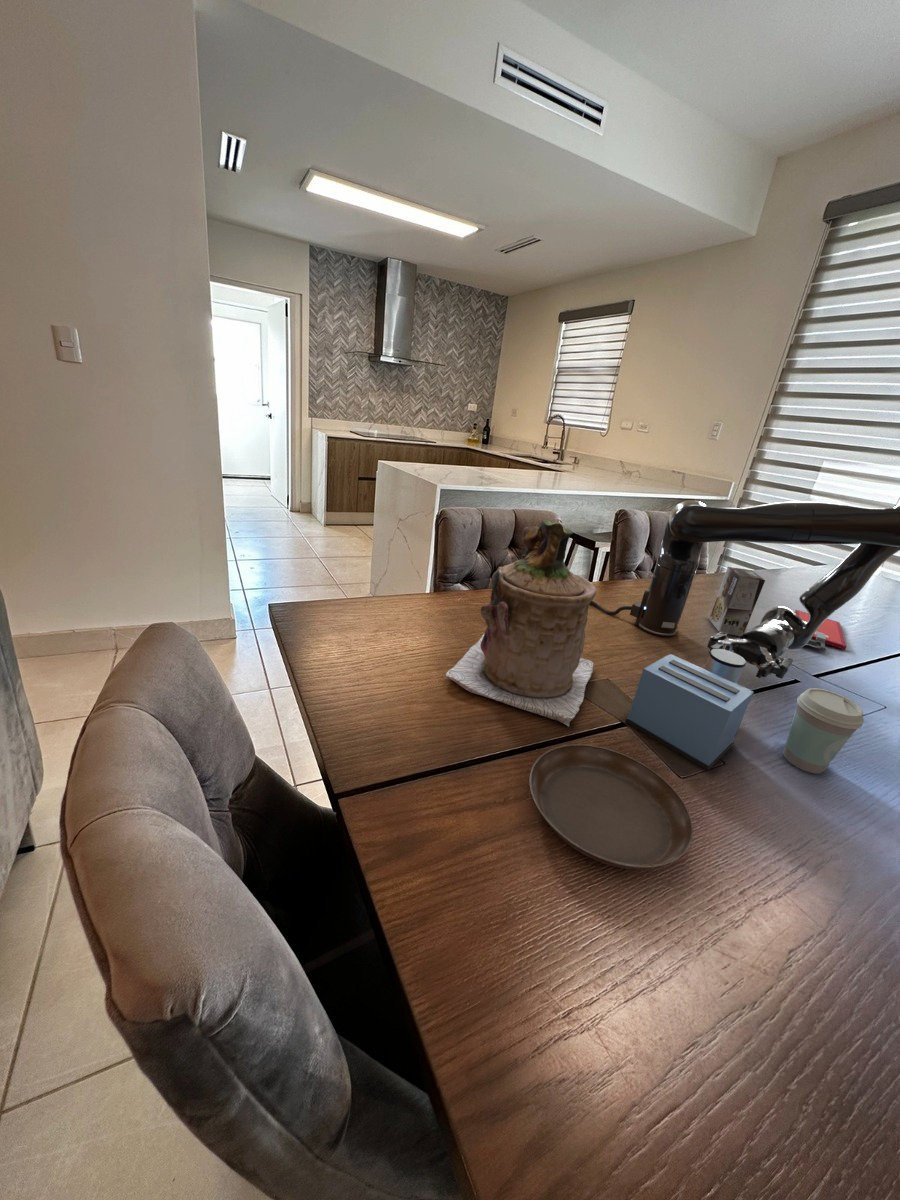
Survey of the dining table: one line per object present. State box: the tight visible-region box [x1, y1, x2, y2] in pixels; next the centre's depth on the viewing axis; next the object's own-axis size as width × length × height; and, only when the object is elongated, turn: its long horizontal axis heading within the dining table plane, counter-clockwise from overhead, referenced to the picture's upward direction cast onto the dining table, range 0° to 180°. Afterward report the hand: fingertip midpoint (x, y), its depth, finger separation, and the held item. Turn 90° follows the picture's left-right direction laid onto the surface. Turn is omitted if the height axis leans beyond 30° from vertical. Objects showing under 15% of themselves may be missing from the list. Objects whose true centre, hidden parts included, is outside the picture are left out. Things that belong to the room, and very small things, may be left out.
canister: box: [703, 648, 747, 684], centre depth 87 cm, size 6×6×12 cm
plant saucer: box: [529, 743, 694, 870], centre depth 62 cm, size 21×21×3 cm
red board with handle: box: [793, 609, 848, 651], centre depth 132 cm, size 30×3×15 cm
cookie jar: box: [445, 519, 598, 727], centre depth 87 cm, size 25×25×32 cm
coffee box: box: [708, 566, 766, 637], centre depth 126 cm, size 9×6×16 cm
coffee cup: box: [782, 687, 864, 775], centre depth 76 cm, size 9×8×12 cm
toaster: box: [624, 653, 755, 772], centre depth 80 cm, size 14×11×11 cm
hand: (735, 662), depth 91 cm, fingers open, 8 cm apart
